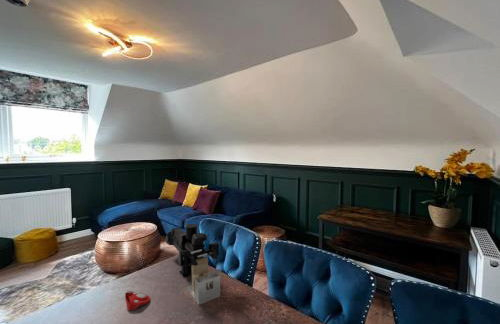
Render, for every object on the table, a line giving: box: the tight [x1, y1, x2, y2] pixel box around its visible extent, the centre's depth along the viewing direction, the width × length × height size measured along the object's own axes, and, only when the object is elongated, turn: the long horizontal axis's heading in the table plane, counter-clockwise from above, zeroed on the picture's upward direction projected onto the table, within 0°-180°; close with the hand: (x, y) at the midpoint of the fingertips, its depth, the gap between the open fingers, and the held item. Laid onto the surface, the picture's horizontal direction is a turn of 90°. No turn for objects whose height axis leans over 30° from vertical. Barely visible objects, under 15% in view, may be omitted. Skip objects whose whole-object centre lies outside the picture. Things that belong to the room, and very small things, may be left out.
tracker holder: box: [124, 290, 151, 311], centre depth 98 cm, size 12×4×10 cm
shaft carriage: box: [191, 255, 209, 290], centre depth 105 cm, size 8×7×13 cm
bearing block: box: [186, 271, 221, 305], centre depth 105 cm, size 15×10×10 cm
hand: (207, 261), depth 100 cm, fingers open, 9 cm apart
